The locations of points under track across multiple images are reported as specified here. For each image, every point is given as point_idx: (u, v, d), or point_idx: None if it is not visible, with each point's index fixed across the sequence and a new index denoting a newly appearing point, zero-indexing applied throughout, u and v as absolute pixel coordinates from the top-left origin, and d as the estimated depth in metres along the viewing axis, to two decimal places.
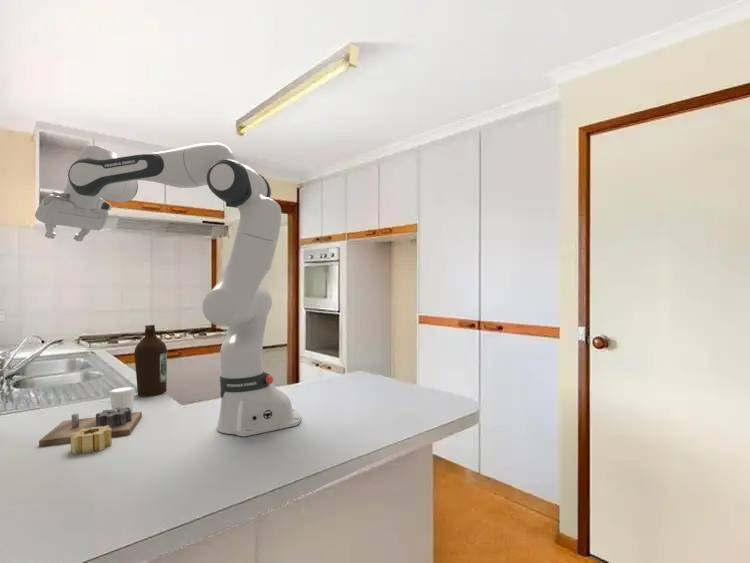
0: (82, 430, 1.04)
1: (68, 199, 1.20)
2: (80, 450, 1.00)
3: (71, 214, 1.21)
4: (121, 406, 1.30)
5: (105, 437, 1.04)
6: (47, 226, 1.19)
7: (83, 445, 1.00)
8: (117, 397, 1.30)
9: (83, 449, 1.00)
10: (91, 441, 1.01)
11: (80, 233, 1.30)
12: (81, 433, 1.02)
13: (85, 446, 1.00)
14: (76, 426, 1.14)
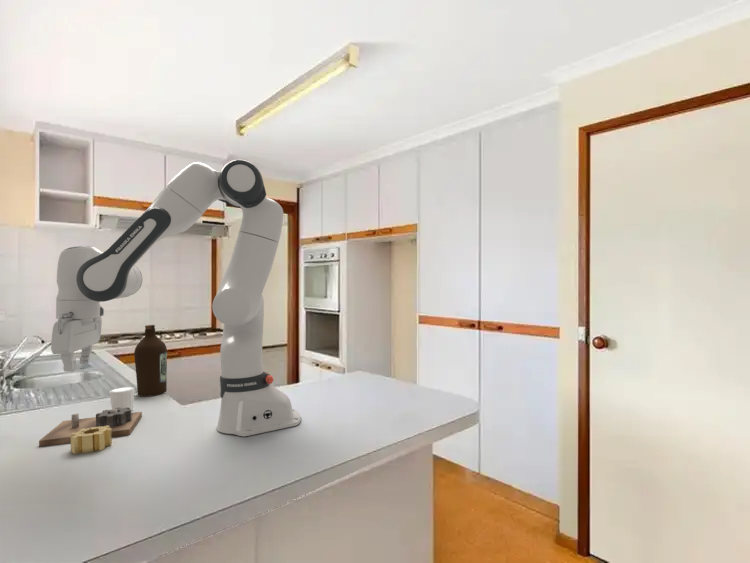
0: (82, 430, 1.04)
1: (73, 318, 1.00)
2: (80, 450, 1.00)
3: (81, 333, 1.02)
4: (121, 406, 1.30)
5: (105, 437, 1.04)
6: (65, 358, 0.98)
7: (83, 445, 1.00)
8: (117, 397, 1.30)
9: (83, 449, 1.00)
10: (91, 441, 1.01)
11: (83, 354, 1.09)
12: (81, 433, 1.02)
13: (85, 446, 1.00)
14: (76, 426, 1.14)
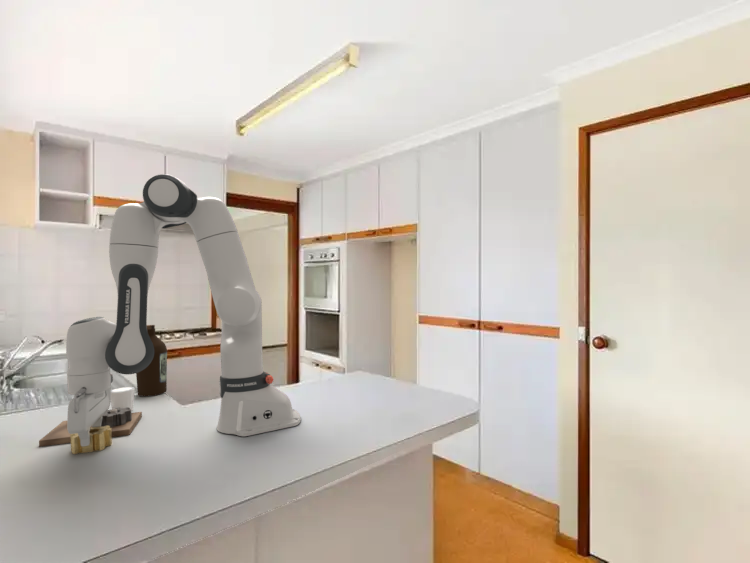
0: None
1: (86, 392, 0.99)
2: (80, 450, 1.00)
3: (94, 406, 1.01)
4: (121, 406, 1.30)
5: (105, 437, 1.04)
6: (82, 433, 0.98)
7: None
8: (117, 397, 1.30)
9: (83, 449, 1.00)
10: (91, 441, 1.01)
11: (94, 424, 1.07)
12: None
13: (85, 446, 1.00)
14: None
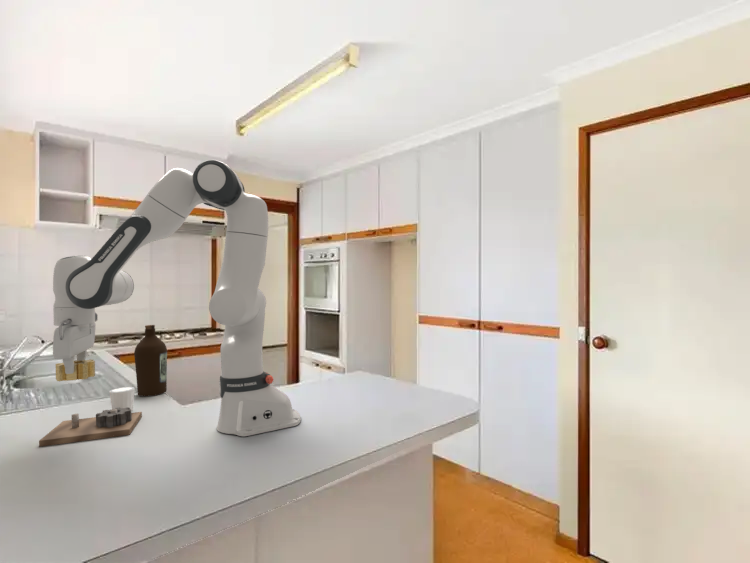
0: None
1: (71, 324, 1.06)
2: (64, 378, 1.07)
3: (79, 338, 1.08)
4: (121, 406, 1.30)
5: (88, 368, 1.10)
6: (67, 361, 1.05)
7: None
8: (117, 397, 1.30)
9: (67, 377, 1.07)
10: (75, 370, 1.07)
11: (79, 358, 1.14)
12: None
13: (69, 374, 1.07)
14: (76, 426, 1.14)
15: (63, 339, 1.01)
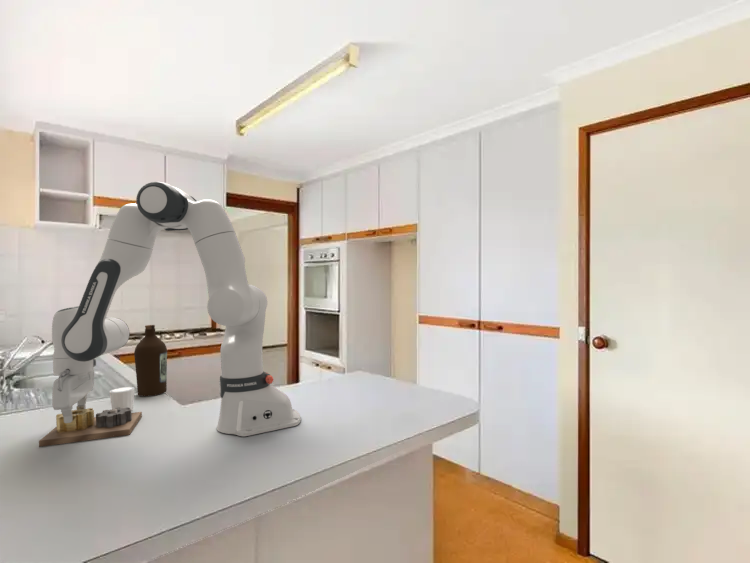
0: None
1: (70, 374, 1.10)
2: (65, 429, 1.11)
3: (77, 387, 1.12)
4: (121, 406, 1.30)
5: (88, 418, 1.14)
6: (65, 411, 1.08)
7: (67, 424, 1.11)
8: (117, 397, 1.30)
9: (67, 428, 1.11)
10: (75, 421, 1.11)
11: (79, 403, 1.19)
12: None
13: (69, 425, 1.11)
14: None
15: (62, 391, 1.05)
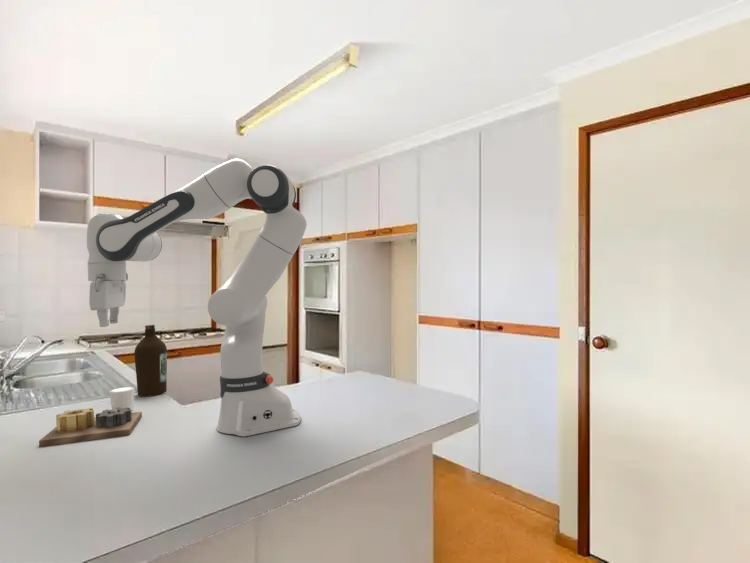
0: (67, 412, 1.15)
1: (105, 279, 1.10)
2: (65, 429, 1.11)
3: (112, 293, 1.12)
4: (121, 406, 1.30)
5: (88, 418, 1.14)
6: (101, 314, 1.08)
7: (67, 424, 1.11)
8: (117, 397, 1.30)
9: (67, 428, 1.11)
10: (75, 421, 1.11)
11: (112, 315, 1.19)
12: (66, 414, 1.13)
13: (69, 425, 1.11)
14: None
15: (99, 291, 1.05)
